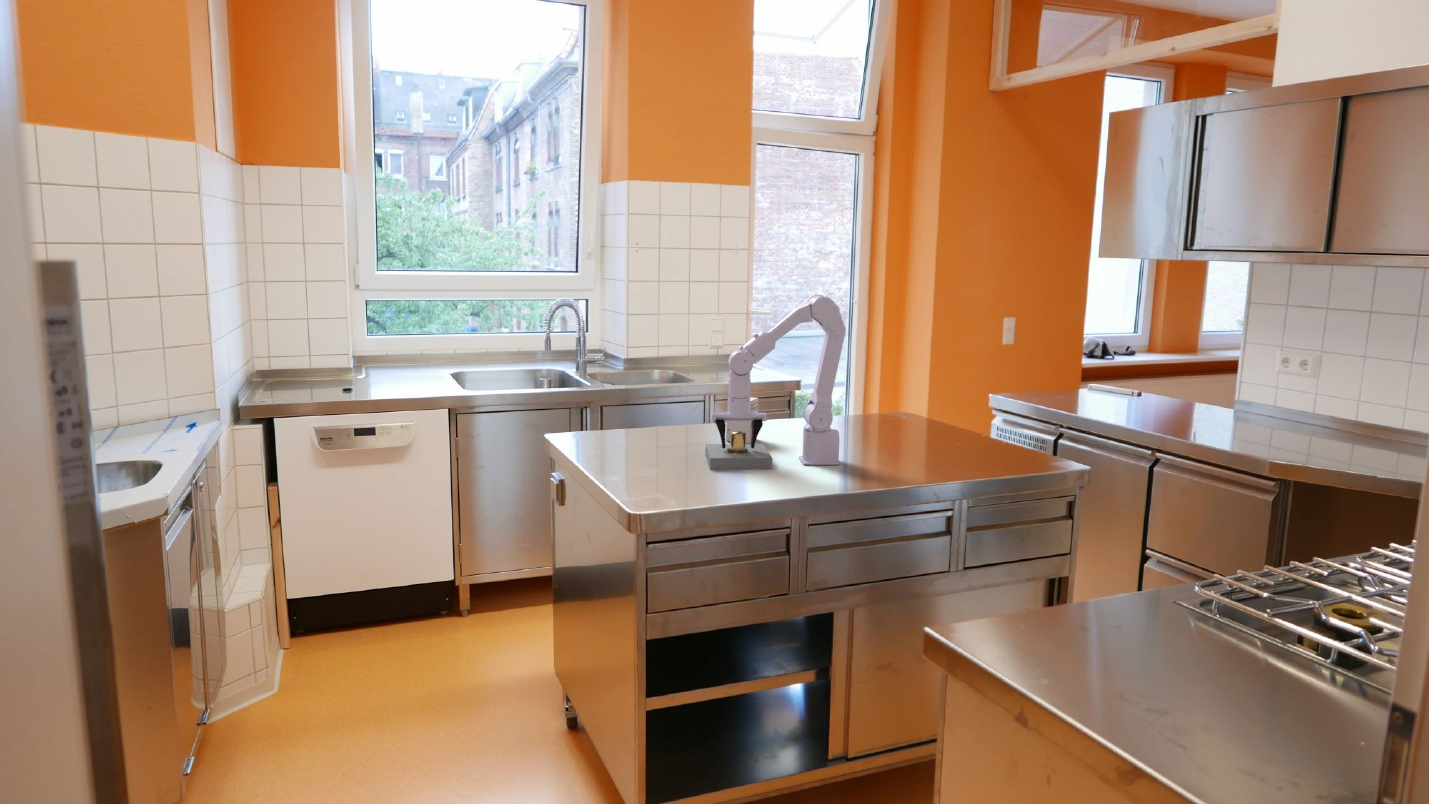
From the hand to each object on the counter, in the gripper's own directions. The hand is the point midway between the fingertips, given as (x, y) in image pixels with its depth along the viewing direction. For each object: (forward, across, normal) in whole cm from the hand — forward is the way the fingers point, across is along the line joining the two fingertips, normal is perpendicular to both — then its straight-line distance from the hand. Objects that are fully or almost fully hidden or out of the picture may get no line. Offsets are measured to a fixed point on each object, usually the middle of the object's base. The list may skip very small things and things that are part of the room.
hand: (738, 447), depth 240 cm
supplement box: (+4, -4, -26) cm, 27 cm away
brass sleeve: (+4, 0, 0) cm, 4 cm away
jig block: (+4, 0, 0) cm, 4 cm away
